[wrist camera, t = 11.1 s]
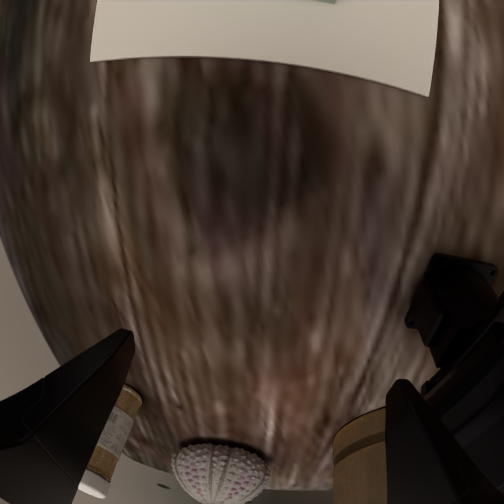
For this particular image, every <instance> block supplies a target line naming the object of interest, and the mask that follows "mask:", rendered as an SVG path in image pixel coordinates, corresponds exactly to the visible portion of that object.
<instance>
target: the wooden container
mask: <svg viewBox="0 0 504 504" xmlns="http://www.w3.org/2000/svg"><path fill="white" fill-rule="evenodd" d="M385 413H386V408H382V409H379V410H376V411H374V412H371V413H368V414H366V415H363V416H361V417H359V418H357V419H356V420H354V421H352V422H350V423H349V424H347V425H346V426H345V427H343V428H342V429H341V430H340V431H339V432H338V433H337V434H336V436H335V438H334V440H333V463H334V471H333V476H334V481H333V487H334V504H387V472H386V450H385Z"/></svg>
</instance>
